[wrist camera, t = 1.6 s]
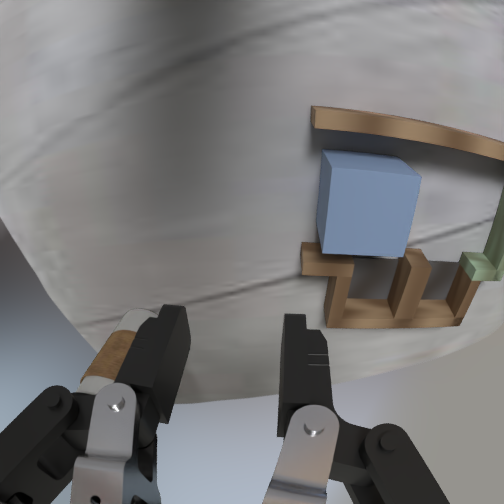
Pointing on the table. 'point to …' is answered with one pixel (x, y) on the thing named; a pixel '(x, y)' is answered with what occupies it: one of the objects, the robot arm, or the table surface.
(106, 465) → the robot arm
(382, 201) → the block
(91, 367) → the coffee cup
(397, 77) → the table surface
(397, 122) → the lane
